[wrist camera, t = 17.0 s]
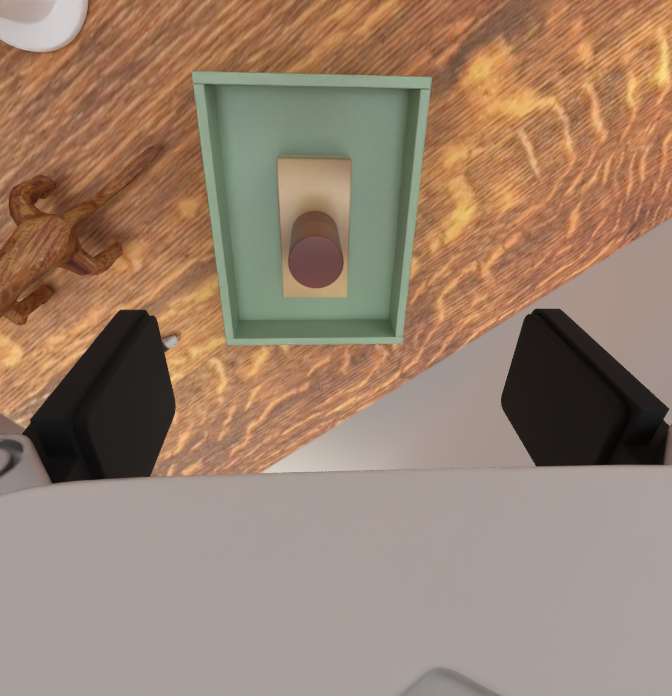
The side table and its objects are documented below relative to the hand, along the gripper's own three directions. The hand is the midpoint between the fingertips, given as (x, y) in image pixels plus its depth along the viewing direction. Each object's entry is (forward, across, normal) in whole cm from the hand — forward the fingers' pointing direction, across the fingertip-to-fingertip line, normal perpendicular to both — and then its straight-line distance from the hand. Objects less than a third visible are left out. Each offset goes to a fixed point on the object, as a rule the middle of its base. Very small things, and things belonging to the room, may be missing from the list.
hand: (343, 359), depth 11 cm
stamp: (+21, 0, +2) cm, 22 cm away
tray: (+22, 0, +2) cm, 22 cm away
